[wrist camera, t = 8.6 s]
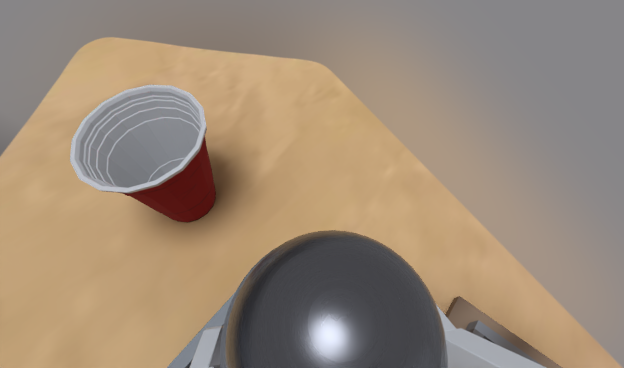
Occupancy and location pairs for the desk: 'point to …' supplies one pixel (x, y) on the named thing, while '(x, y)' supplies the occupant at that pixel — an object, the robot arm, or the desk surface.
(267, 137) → the desk surface
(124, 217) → the desk surface
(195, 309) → the desk surface
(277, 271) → the strut
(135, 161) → the plastic cup
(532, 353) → the socket plate
